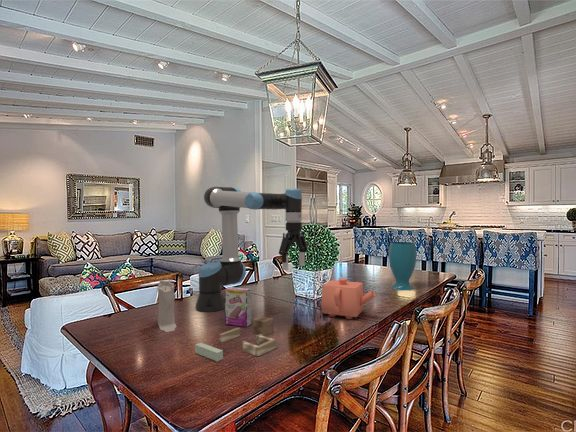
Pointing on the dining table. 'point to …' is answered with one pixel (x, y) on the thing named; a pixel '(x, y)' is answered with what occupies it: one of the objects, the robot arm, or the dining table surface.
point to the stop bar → (209, 351)
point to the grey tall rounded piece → (166, 306)
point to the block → (263, 325)
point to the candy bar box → (238, 306)
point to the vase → (402, 263)
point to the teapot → (344, 298)
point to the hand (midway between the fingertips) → (293, 267)
